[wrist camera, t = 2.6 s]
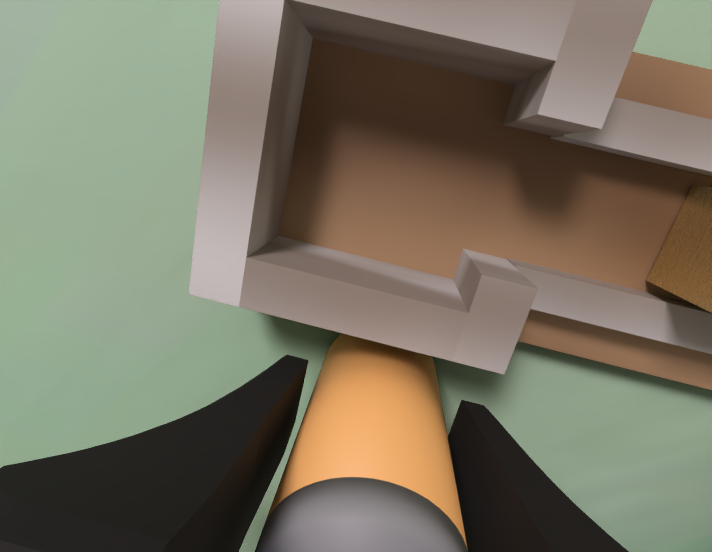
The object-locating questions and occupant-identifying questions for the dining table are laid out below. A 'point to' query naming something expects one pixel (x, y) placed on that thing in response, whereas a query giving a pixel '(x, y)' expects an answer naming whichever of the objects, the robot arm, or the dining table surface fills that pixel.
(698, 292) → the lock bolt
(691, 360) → the mount
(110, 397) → the dining table surface
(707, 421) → the dining table surface
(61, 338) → the dining table surface
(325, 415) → the cylinder
